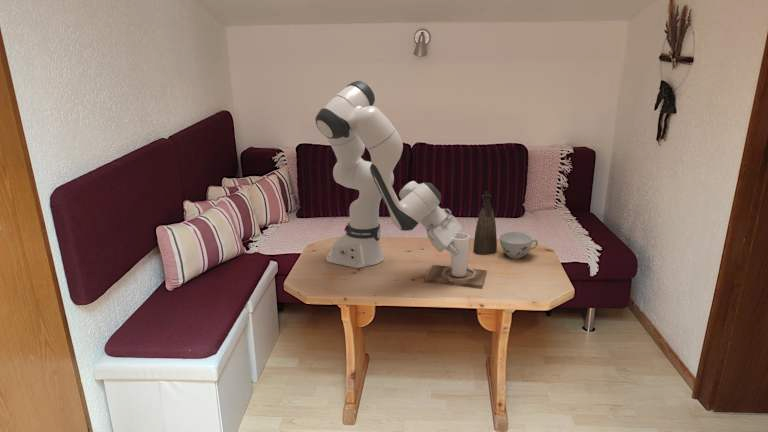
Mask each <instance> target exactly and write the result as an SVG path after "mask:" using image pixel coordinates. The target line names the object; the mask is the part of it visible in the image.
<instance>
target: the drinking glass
mask: <svg viewBox="0 0 768 432" xmlns="http://www.w3.org/2000/svg"><path fill="white" fill-rule="evenodd" d="M455 234H456V235H457V237H456V238H453V237H451V238H452V240H453V241H452V242H451V245H452V247H453V248H455V249H457V250H458V251H459V254H458V255H457V256H454V255H453V254H452V253H451V252H449V253H450V263H451V265H450V266H451V267H452V275H453V276H455V277H463V276H465V275H466V273H467V267H468V263H469V255H470V254H469V253H470V246H471V245H470V244H471V243H470V237H471V236H470V234H469V233H466V232H464V231H461V232H456V233H455Z"/></svg>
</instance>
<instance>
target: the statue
mask: <svg viewBox="0 0 768 432" xmlns="http://www.w3.org/2000/svg"><path fill="white" fill-rule="evenodd" d="M480 197H481V200H482V201H483V202H482V205H483V207H481V208H480V212H479V215H478V218H477V221H476V222H477V223H476V227H475V232H474V238H473V239H474V240H473V254H475V255H491V254H492V255H493V254H495V253H497V251H498V250H497V248H498V246H497V244H498V241H497V225H496V217H495V213H494V209H493V207H492V204H491V201H490V200H491V199H492V195H491V194H488V191H487V190H485V192H484V194H482V195H480Z"/></svg>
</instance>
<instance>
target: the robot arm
mask: <svg viewBox="0 0 768 432" xmlns="http://www.w3.org/2000/svg"><path fill="white" fill-rule="evenodd" d="M375 101H376V98H375V94H374V91H373V89H372V88H371V87H370V86H369V85H368V84H367V83H366V82H363V81H362V80H356V81H352V82H351V83H349V84H348V85H346V87H344V88H343V89H342V90H341V91H339V92H338V93H336V94H335V95H334V96H333V97H332V98H331V100H329V101H328V102H327V103H326V105H325V106H324V107H322V108H321V109H320V110H319V111H318V113H317V114H316V116H315V119H314V120H315V125H316V127H317V130H319V132H320V133H321V134H322V135H323V136H324V137H326V138H327V141H328V142H329V144H330V147H331V148H332V151H333V153H334V155H335V157H336V163H335V165H334V166H333V170H332V176H333V179H334V181H335V183H337V184H339V185H341V186H343V187H345V188H348V189H354V190H357V191H358V193H359V195H358V198H357V199H355V200H353V201H352V202H351V203H350V204H349V205H350V206H349V221H348V222H347V225H345V227H344V228H343V231H344V232H345V233H344V234H342V235H341V236H339V237H338V238H337V239H336V240H335V241H334V242H333V244H332V247H331V251H329V252H328V253H327V254H326V256H325V261H326V263H331V264H335V265H340V266H341V265H342V266H345V267H349V268H355V269H361V268H365V267H367V266H368V267H370V266H374V265H376V264H377V265H378V264H380V263H381V262H383V261H384V259H385V257H384V254H383V250H382V246H381V240H380V239H381V224H380V223H379V222H380V217H379V215H380V211H379V210H380V203H381V200H382V199H383V202H384V204H385V206H386V209H387V211H388V214H389V216H390V218H391V221H392V223H393V224H394V225H395V226H396V228H397V229H399V230H400V231H403V232H404V231H413V230H414V229H415V228H416V227H417V226H418V225H419V224H421V226H422V227H423V228H424V229H425V230H426V231H425V232H426V235H427V239H428V241H430V243H431V244H432V246H433V247H434V248H435V250H437V252H440V253H441V252H443V251H445V250H446V251H447V252H449V253H450V252H451V253H452V254H453V255H454V256H457V255H458V254H459V251H458V250H457V249H455V248H453V247H452V245H451V242H452V241H453V240H452V238H451V237H453V238H456V237H457V235H456V234H455V233H456V232H463V230H464V229H463V226H462V225H461V223H460V222H459V221H458V219H456V217H455V216H454V215H452V211H451V210H450V209H449V208H441V206H439V205H440V203H441V202H442V194H441V192H440V191H439V190H438V189H437V187H436V186H435V185H434V183H430V182H422V183H417V181H415V180H412V181H409V182H407V183H406V184H405V185H404V186H403V187H402V188H401V189H400V190H399V193H398V196H399V198H400V200H399V198H398V196H397V194H396V192H395V190H394V187H393V185H394V182H395V175H394V172H393V171H394V170H395V168H396V165H397V164H398V162H399V161H400V159H401V157H402V153H403V150H404V143H403V140H402V137H401V135H400V133H399V132H398V130H397V129H396V128H395V127H394V125H393V124H392V123H393V122H391V121H390V120H389V118H388V117H387V116H386V115H385V114H384V113H383V112H382V111H381V110H380V109H379V108H378V107H376V106H374V104H375ZM365 149H367V151H368V152H369V155H370V161H369V160H365V159H363V158H362V156H363V155H364V153H365ZM451 253H450V254H451Z"/></svg>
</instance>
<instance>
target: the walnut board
mask: <svg viewBox="0 0 768 432" xmlns="http://www.w3.org/2000/svg"><path fill="white" fill-rule="evenodd" d="M486 275H487V269H478V268H470V267H469V266H467V273H466V275H465V276H463V277H455V276H453V275H452V267H451V265H440V264H439V265H438V264H432V265H431V266H430V269H429V271H428V273H427V274H426V276H425V278H424V283H429V284H437V285H448V286H456V287H464V288H473V289H474V288H475V289H483V286H484V283H485V279H486Z"/></svg>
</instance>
